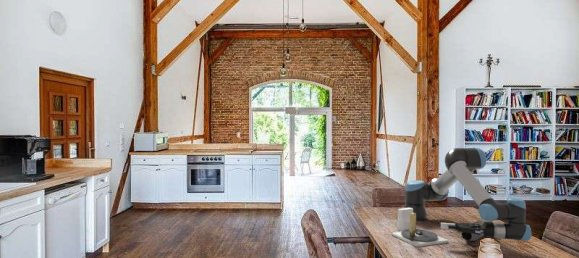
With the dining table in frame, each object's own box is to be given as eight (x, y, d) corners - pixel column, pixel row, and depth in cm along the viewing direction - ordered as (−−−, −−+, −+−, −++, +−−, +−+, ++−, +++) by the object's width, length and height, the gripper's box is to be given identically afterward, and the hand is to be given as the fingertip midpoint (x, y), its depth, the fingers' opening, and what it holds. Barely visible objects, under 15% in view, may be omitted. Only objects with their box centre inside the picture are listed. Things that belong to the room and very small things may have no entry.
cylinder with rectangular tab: (405, 232, 204) (405, 211, 204) (393, 228, 212) (394, 207, 212) (417, 230, 208) (417, 209, 208) (405, 226, 216) (405, 206, 216)
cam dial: (411, 229, 206) (412, 205, 206) (443, 236, 193) (444, 211, 193) (394, 235, 194) (395, 210, 194) (427, 243, 181) (427, 217, 181)
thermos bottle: (476, 220, 210) (455, 229, 191) (490, 216, 205) (469, 225, 186) (483, 234, 207) (462, 245, 189) (497, 230, 202) (477, 241, 183)
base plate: (391, 235, 199) (391, 229, 199) (421, 231, 207) (421, 225, 207) (416, 246, 181) (416, 240, 181) (448, 242, 188) (448, 236, 188)
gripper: (496, 241, 172) (442, 236, 178) (489, 233, 185) (439, 229, 191) (497, 225, 172) (442, 221, 178) (490, 218, 184) (439, 215, 191)
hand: (441, 225), depth 185 cm, fingers closed
